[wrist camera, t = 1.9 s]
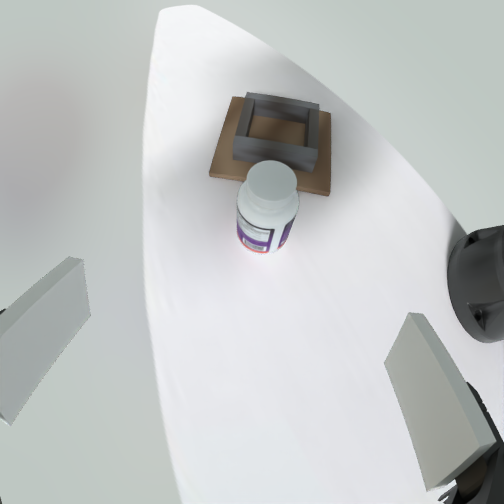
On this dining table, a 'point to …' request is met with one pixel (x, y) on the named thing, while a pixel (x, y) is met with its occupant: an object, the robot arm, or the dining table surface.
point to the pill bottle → (266, 207)
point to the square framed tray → (275, 140)
